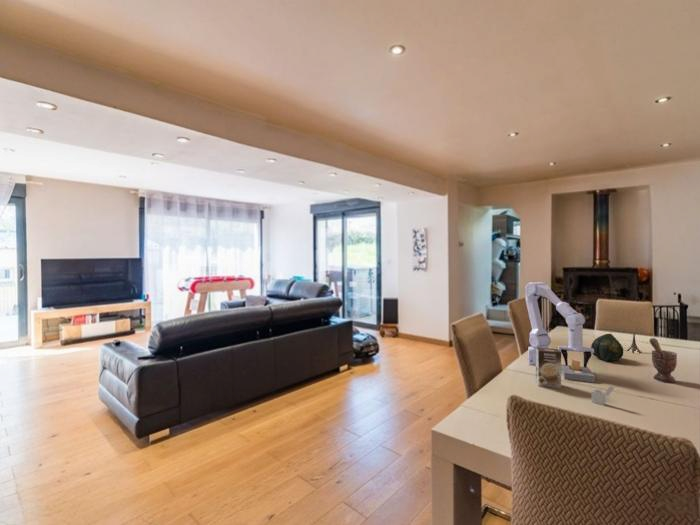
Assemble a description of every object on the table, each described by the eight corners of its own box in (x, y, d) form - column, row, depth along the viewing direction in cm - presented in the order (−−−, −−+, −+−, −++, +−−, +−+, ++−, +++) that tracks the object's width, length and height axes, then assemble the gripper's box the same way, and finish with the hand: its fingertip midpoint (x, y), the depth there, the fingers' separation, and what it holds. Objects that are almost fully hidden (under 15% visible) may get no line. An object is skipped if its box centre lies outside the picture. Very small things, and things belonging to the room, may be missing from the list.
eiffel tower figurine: (652, 353, 204) (652, 331, 204) (649, 357, 197) (649, 333, 197) (620, 348, 215) (620, 327, 215) (617, 351, 208) (617, 330, 208)
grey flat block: (564, 379, 162) (564, 372, 162) (559, 370, 175) (559, 363, 175) (595, 382, 157) (595, 375, 157) (587, 373, 170) (587, 366, 170)
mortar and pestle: (671, 386, 152) (671, 341, 151) (646, 380, 159) (646, 337, 159) (679, 381, 158) (679, 337, 158) (655, 375, 165) (655, 334, 165)
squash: (589, 351, 189) (610, 332, 186) (582, 345, 203) (602, 327, 199) (612, 370, 185) (635, 351, 181) (604, 363, 199) (625, 345, 195)
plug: (572, 373, 167) (572, 361, 167) (571, 370, 170) (571, 358, 170) (580, 374, 165) (580, 361, 165) (578, 371, 169) (578, 359, 169)
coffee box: (538, 386, 153) (537, 350, 153) (535, 381, 159) (535, 347, 159) (561, 388, 150) (561, 352, 150) (558, 383, 156) (557, 348, 156)
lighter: (591, 402, 136) (591, 382, 136) (592, 400, 138) (592, 380, 137) (613, 407, 131) (613, 386, 131) (614, 406, 132) (614, 385, 132)
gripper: (559, 339, 167) (559, 366, 167) (595, 341, 161) (595, 370, 161) (557, 335, 173) (557, 362, 173) (591, 338, 167) (591, 366, 168)
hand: (575, 366), depth 168 cm, fingers open, 7 cm apart
